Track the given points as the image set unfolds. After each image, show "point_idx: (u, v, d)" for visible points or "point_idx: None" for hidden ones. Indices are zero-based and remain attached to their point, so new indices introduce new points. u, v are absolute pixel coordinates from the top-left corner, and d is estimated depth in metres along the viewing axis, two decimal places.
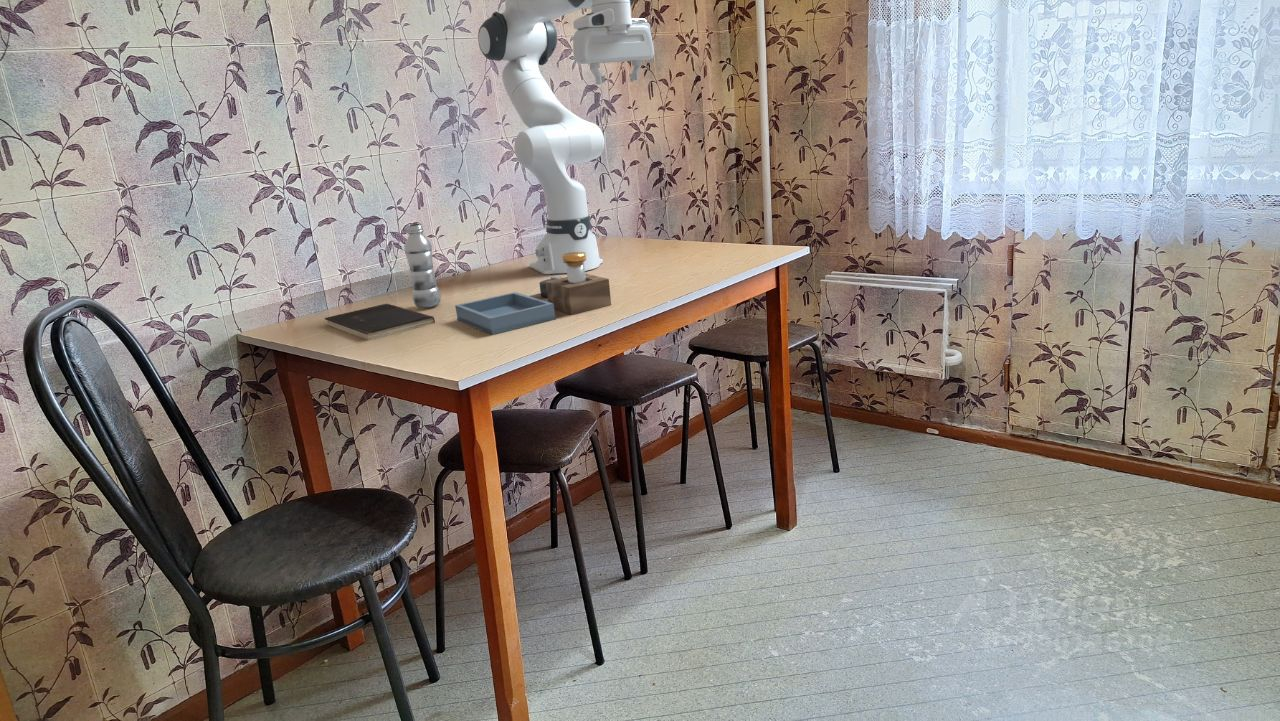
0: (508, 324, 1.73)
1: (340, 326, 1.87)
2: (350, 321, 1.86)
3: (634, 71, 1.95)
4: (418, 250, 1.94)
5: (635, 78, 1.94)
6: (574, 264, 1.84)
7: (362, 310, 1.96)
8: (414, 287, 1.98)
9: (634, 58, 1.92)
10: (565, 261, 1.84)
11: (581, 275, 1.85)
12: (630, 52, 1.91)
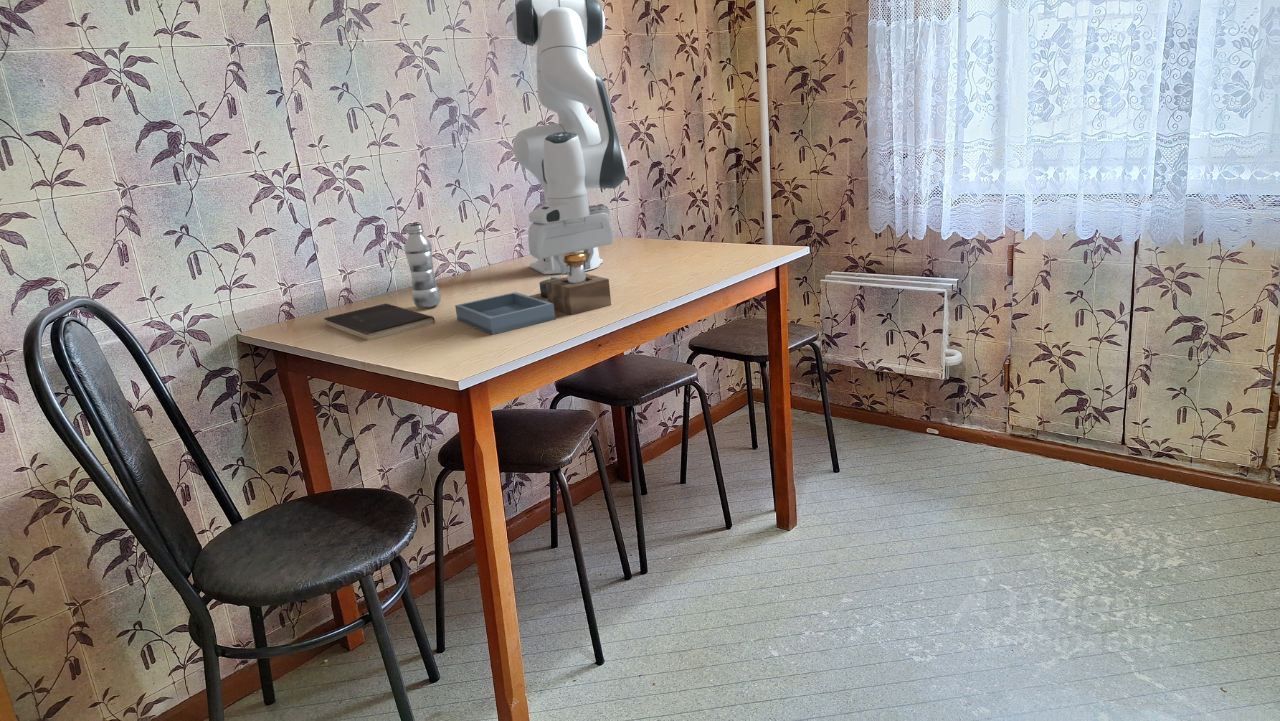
0: (508, 324, 1.73)
1: (340, 326, 1.87)
2: (350, 321, 1.86)
3: (586, 258, 1.87)
4: (418, 250, 1.94)
5: (586, 266, 1.87)
6: (574, 264, 1.84)
7: (361, 310, 1.96)
8: (414, 287, 1.98)
9: (592, 246, 1.86)
10: (565, 261, 1.84)
11: (581, 275, 1.85)
12: (588, 241, 1.85)
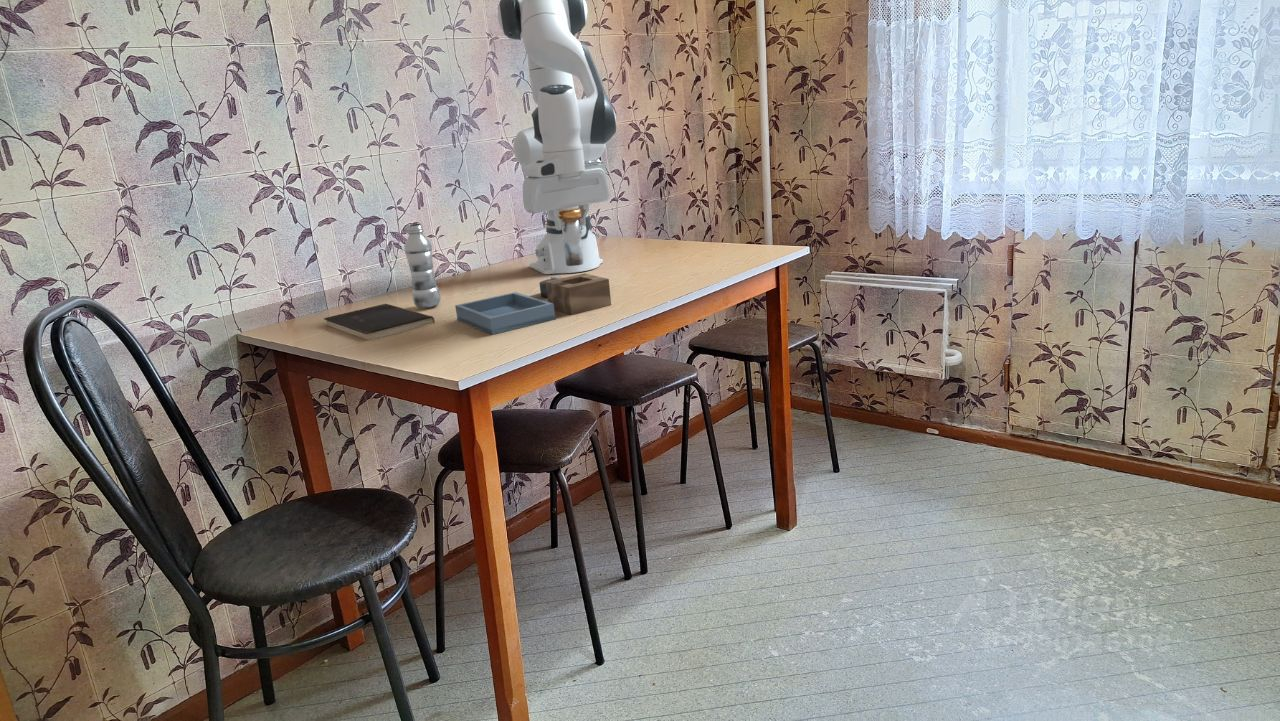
0: (508, 324, 1.73)
1: (339, 326, 1.87)
2: (349, 321, 1.86)
3: None
4: (418, 250, 1.94)
5: (582, 223, 1.84)
6: (569, 220, 1.81)
7: (361, 310, 1.96)
8: (414, 287, 1.98)
9: (588, 202, 1.83)
10: (560, 217, 1.81)
11: (577, 232, 1.82)
12: (583, 197, 1.82)
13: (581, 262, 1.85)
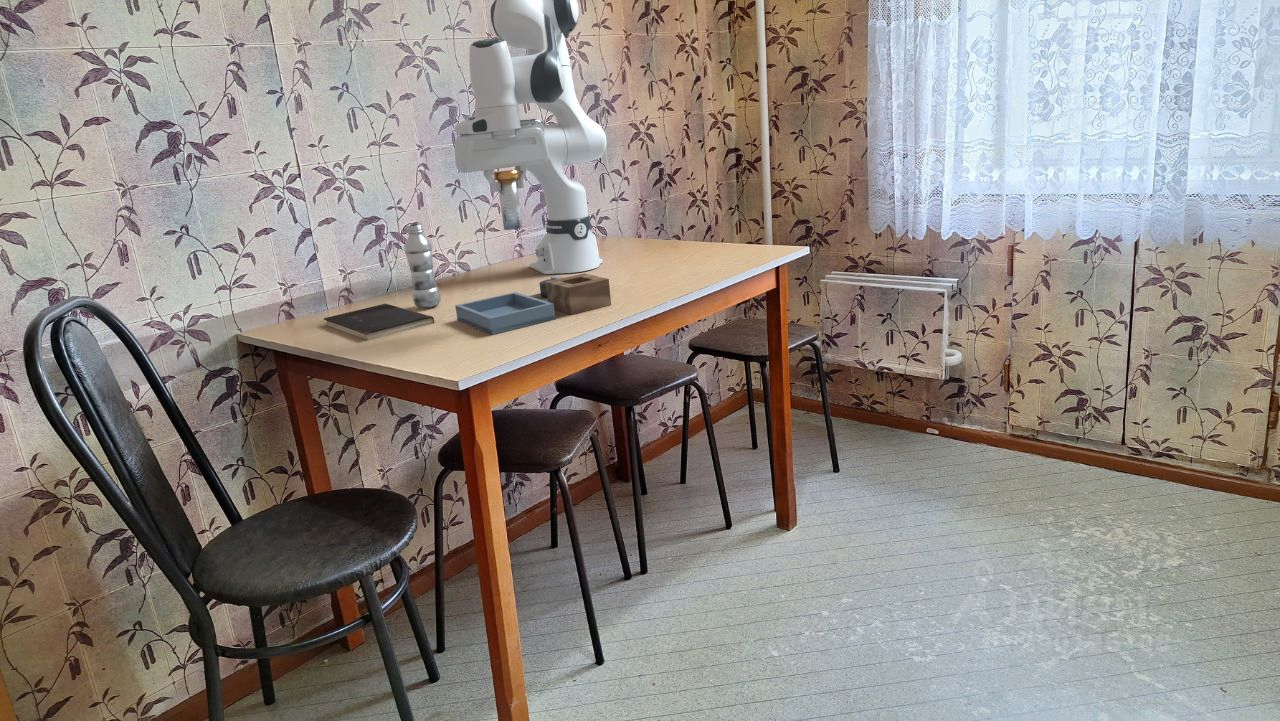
0: (508, 324, 1.73)
1: (339, 326, 1.87)
2: (349, 321, 1.86)
3: (518, 177, 1.76)
4: (418, 250, 1.94)
5: (519, 185, 1.76)
6: (505, 181, 1.73)
7: (361, 310, 1.96)
8: (414, 287, 1.98)
9: (525, 163, 1.75)
10: (496, 178, 1.73)
11: (514, 193, 1.74)
12: (520, 157, 1.74)
13: (519, 226, 1.76)
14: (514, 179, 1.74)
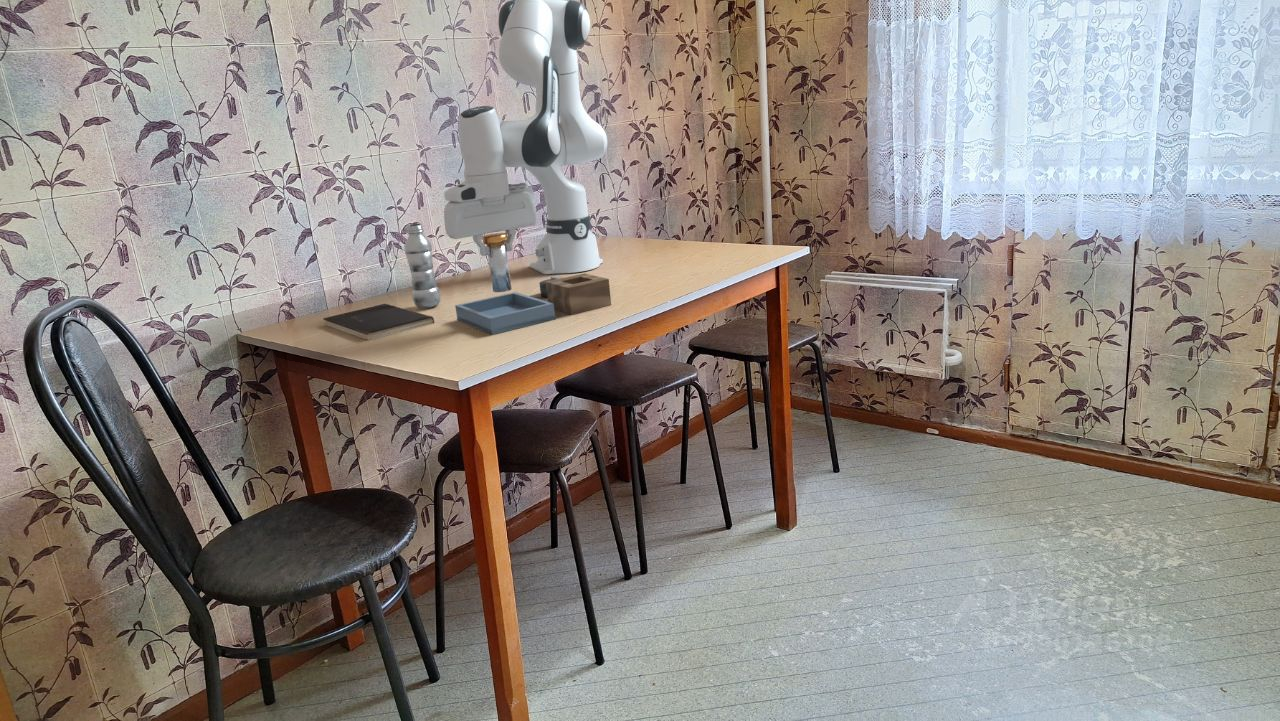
0: (508, 324, 1.73)
1: (339, 326, 1.87)
2: (349, 321, 1.86)
3: None
4: (418, 250, 1.94)
5: (508, 248, 1.78)
6: (494, 245, 1.75)
7: (361, 310, 1.96)
8: (414, 287, 1.98)
9: (514, 227, 1.77)
10: (485, 242, 1.76)
11: (502, 257, 1.77)
12: (509, 221, 1.76)
13: (508, 288, 1.79)
14: (503, 243, 1.76)
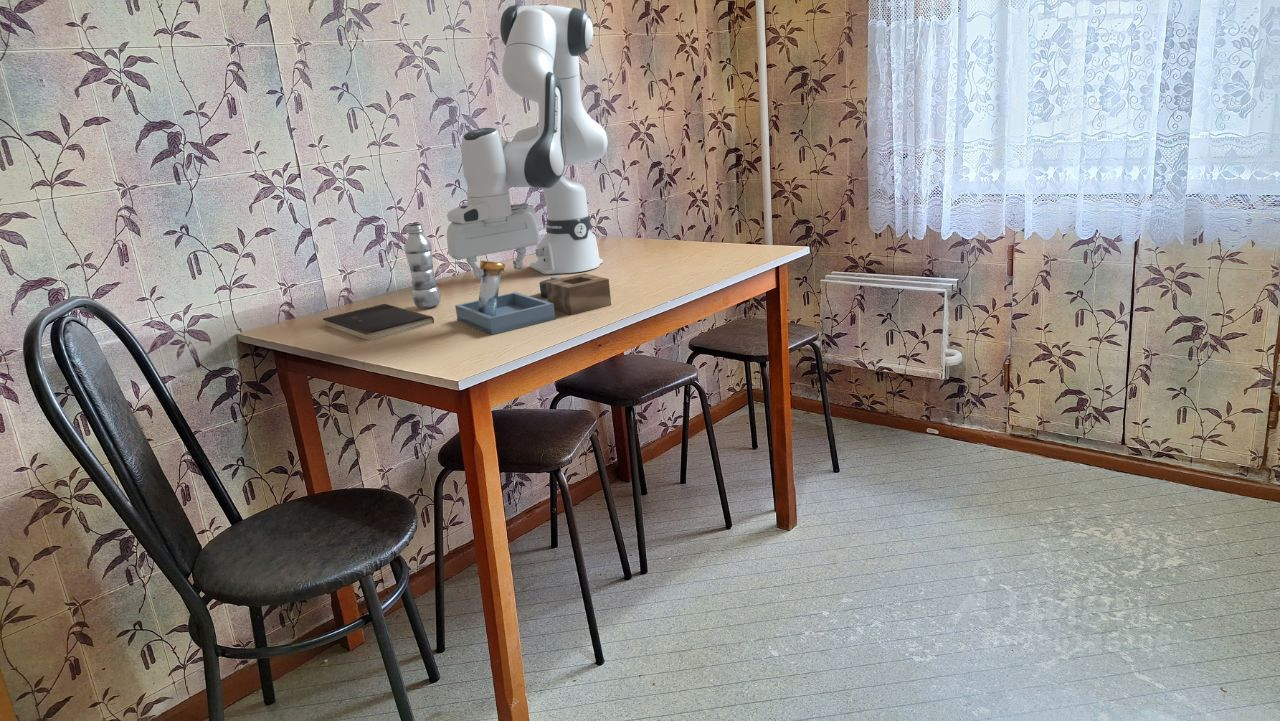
0: (508, 324, 1.73)
1: (339, 326, 1.87)
2: (349, 321, 1.86)
3: (518, 258, 1.82)
4: (418, 250, 1.94)
5: (519, 266, 1.81)
6: (490, 271, 1.76)
7: (360, 310, 1.96)
8: (414, 287, 1.98)
9: (516, 247, 1.79)
10: (481, 266, 1.76)
11: (495, 285, 1.77)
12: (511, 241, 1.78)
13: None
14: (499, 272, 1.77)
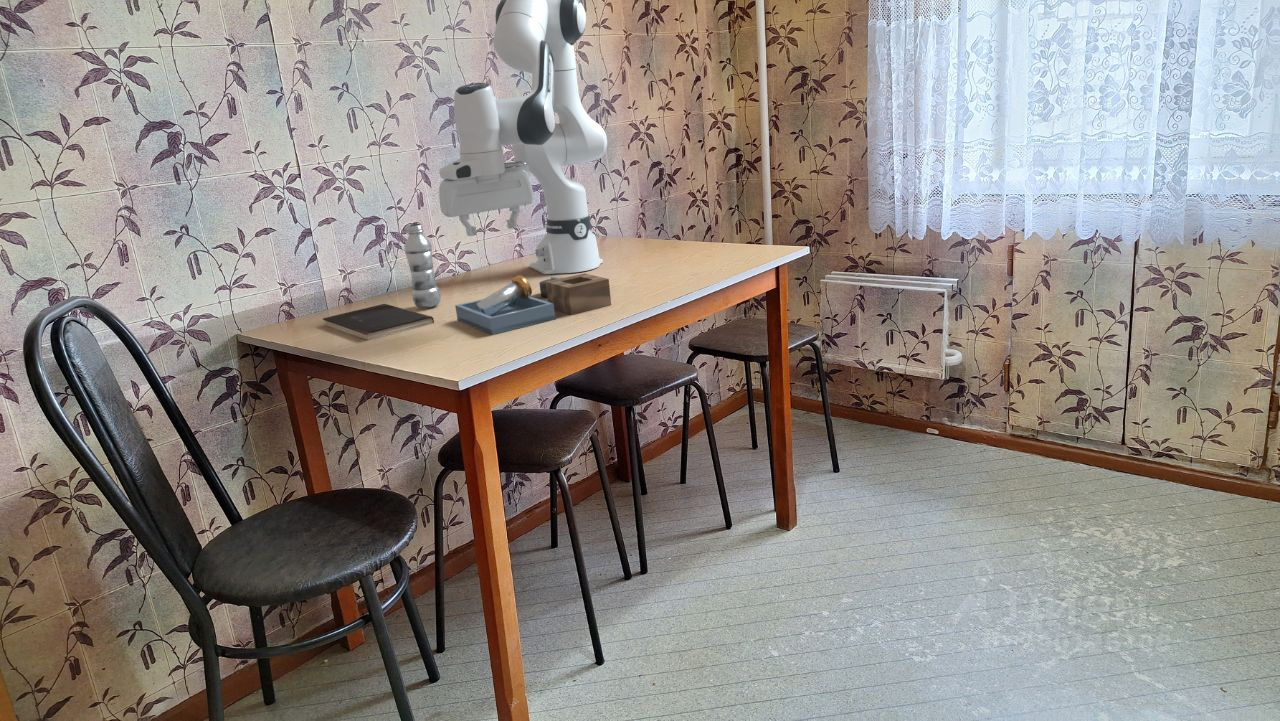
0: (508, 324, 1.73)
1: (339, 326, 1.87)
2: (349, 321, 1.86)
3: (512, 217, 1.79)
4: (418, 250, 1.94)
5: (512, 225, 1.78)
6: (519, 285, 1.83)
7: (360, 310, 1.96)
8: (414, 287, 1.98)
9: (510, 205, 1.76)
10: (516, 277, 1.84)
11: (512, 297, 1.82)
12: (505, 200, 1.75)
13: (488, 313, 1.79)
14: (523, 293, 1.84)
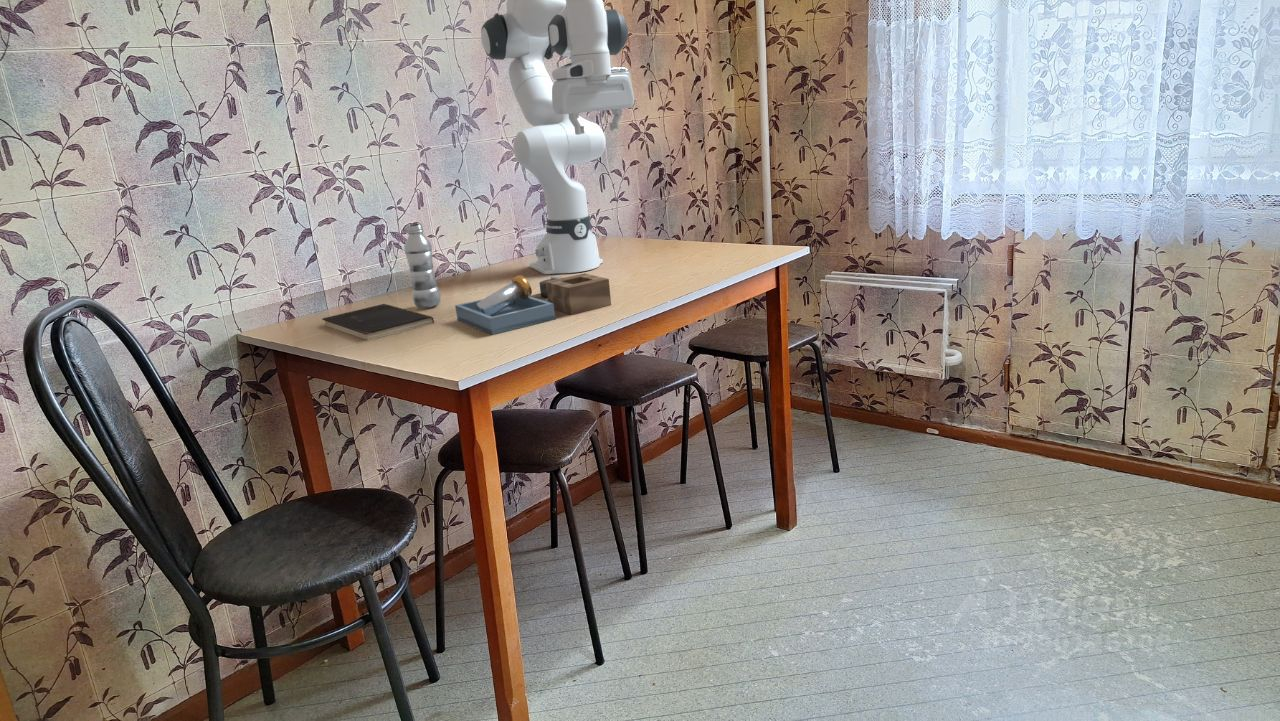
0: (508, 324, 1.73)
1: (338, 326, 1.87)
2: (348, 321, 1.86)
3: (614, 120, 1.93)
4: (418, 250, 1.94)
5: (615, 127, 1.92)
6: (519, 285, 1.83)
7: (360, 310, 1.96)
8: (414, 287, 1.98)
9: (614, 107, 1.90)
10: (516, 277, 1.84)
11: (512, 296, 1.82)
12: (610, 101, 1.89)
13: (488, 313, 1.79)
14: (523, 293, 1.84)
